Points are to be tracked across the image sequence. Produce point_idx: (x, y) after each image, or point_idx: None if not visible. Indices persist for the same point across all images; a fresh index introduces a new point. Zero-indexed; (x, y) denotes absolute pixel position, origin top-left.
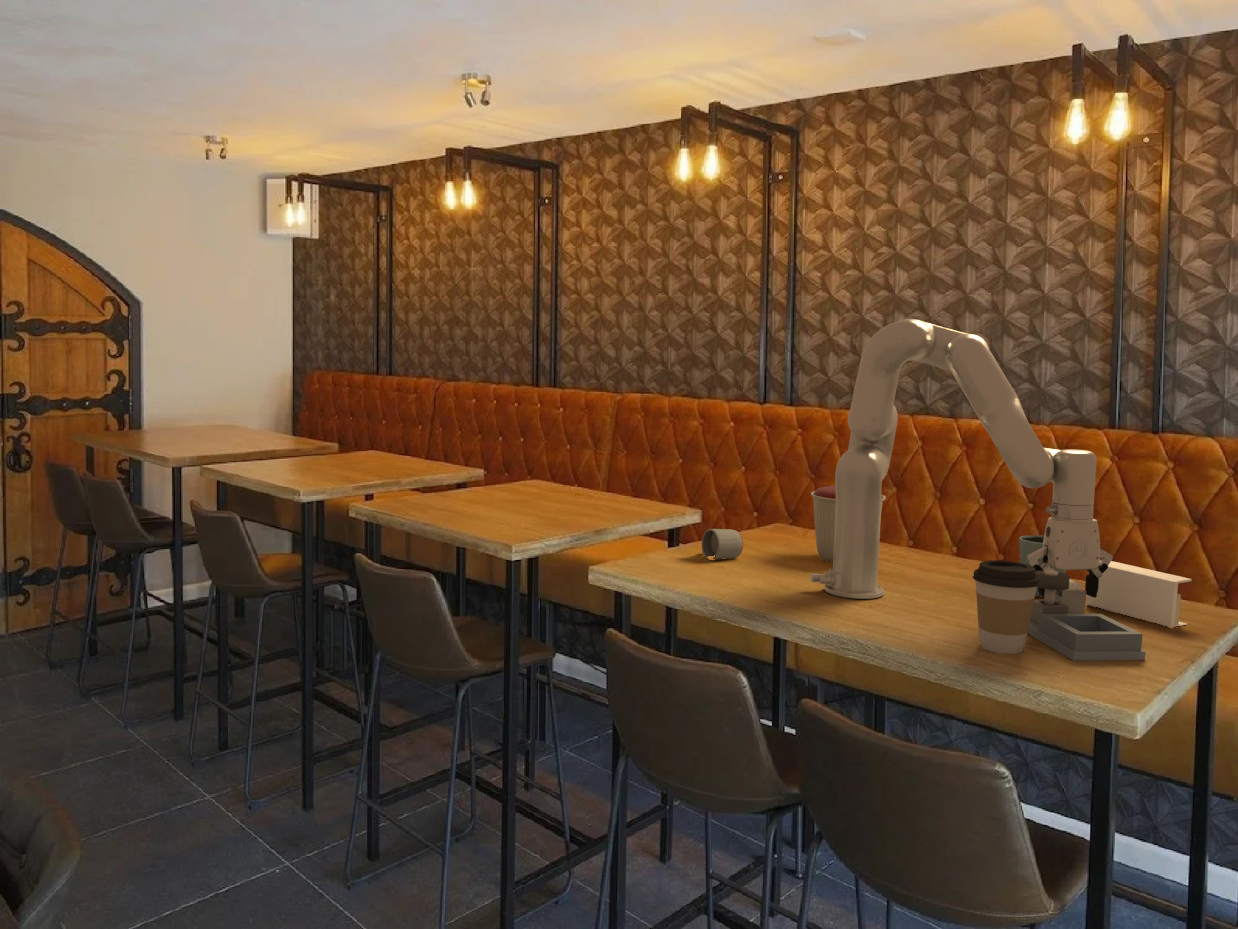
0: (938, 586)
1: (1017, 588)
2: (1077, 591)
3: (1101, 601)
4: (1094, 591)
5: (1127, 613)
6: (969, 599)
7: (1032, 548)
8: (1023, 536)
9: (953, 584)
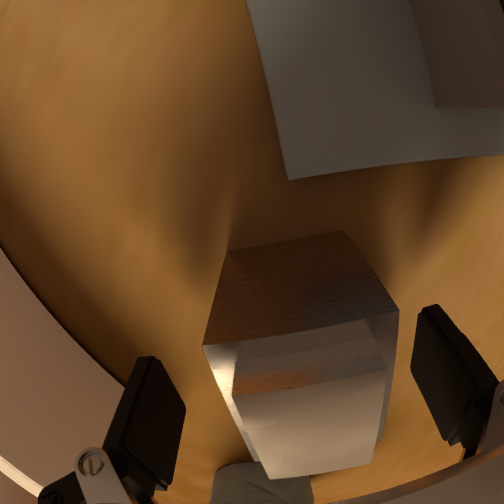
0: (458, 450)
1: None
2: (274, 337)
3: None
4: (142, 379)
5: (60, 332)
6: None
7: None
8: None
9: (421, 470)
